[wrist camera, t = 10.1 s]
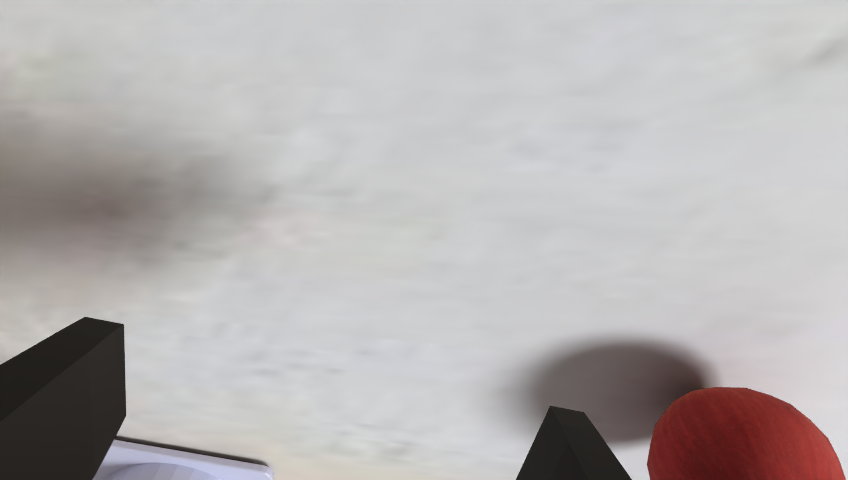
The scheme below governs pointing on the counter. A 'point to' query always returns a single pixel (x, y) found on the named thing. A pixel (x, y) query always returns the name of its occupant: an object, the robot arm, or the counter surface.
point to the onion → (738, 440)
